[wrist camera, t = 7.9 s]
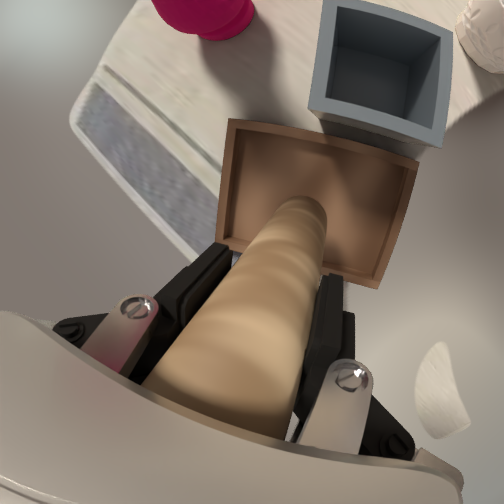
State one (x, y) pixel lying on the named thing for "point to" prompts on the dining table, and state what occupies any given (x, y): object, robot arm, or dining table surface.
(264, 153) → the tray
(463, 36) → the white cup
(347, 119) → the grey hollow box
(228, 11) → the pepper mill
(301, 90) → the dining table surface
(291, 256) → the dowel
